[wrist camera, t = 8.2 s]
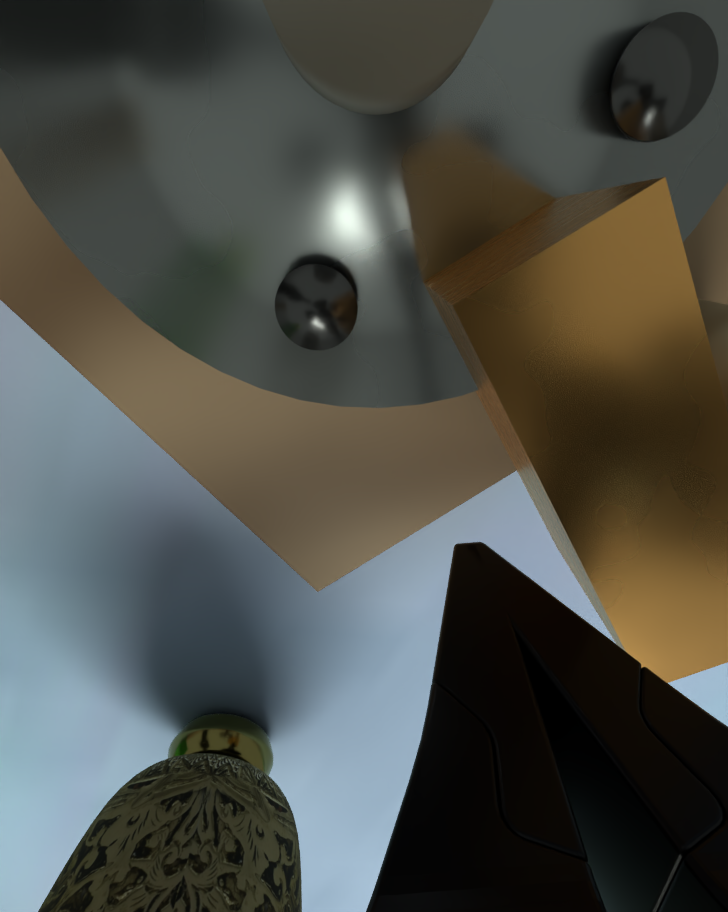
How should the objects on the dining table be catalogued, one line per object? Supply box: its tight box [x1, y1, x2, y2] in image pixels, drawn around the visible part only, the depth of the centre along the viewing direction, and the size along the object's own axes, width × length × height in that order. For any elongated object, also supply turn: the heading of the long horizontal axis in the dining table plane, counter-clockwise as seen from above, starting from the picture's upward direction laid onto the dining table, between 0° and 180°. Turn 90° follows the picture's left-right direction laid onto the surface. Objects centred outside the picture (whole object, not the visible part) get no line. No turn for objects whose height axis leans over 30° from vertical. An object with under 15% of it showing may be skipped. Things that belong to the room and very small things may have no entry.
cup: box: [38, 713, 302, 912], centre depth 13 cm, size 8×7×8 cm
